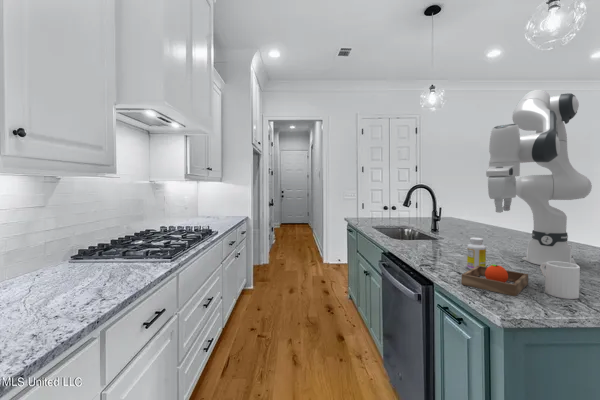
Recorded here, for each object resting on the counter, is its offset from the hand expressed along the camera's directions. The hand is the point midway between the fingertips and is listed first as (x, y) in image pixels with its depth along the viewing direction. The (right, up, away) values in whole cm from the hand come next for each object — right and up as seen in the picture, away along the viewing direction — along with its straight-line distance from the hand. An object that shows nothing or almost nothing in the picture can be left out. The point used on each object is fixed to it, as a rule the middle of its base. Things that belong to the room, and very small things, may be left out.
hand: (503, 211), depth 104 cm
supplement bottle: (+3, -25, +21) cm, 33 cm away
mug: (+13, -26, -6) cm, 30 cm away
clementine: (-1, -26, +3) cm, 26 cm away
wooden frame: (-1, -26, +3) cm, 26 cm away
